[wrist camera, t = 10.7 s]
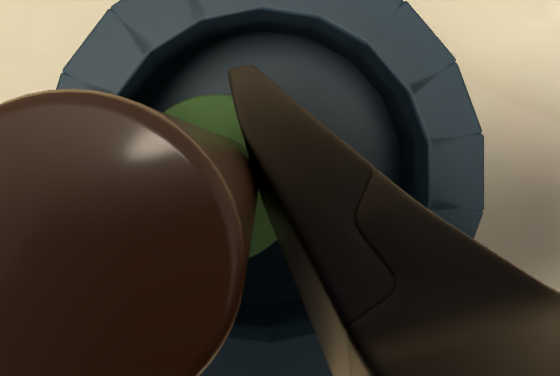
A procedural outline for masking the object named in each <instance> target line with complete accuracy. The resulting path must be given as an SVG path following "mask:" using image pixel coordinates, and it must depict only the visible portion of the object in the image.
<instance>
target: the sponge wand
mask: <svg viewBox="0 0 560 376" xmlns="http://www.w3.org/2000/svg"><path fill="white" fill-rule="evenodd" d="M276 240H277V237H276V235H275V232H274V230H273V227H272V225H271V222H270V220H269V217H268V215H267V212H266V210H265V207H264V204H263V202H262V199H261V196H260V192H259V189H258V184H257V180H256V176H255V173H254V170H253V168H252V165H251V162H250V159H249V155H248V152H247V149H246V145H245V142H244V139H243V135H242V132H241V129H240V125H239V122H238V119H237V115H236V112H235V107H234V102H233V98H232V95H224V94H208V95H201V96H196V97H193V98H190V99H186V100H184V101H182V102H180V103H178V104H175V105H174V106H172V107H171V108H169V109H168V110H166V111H165V112H164V113H163V112H161V111H158V110H156V109H153V108H151V107H148V106H146V105H143V104H141V103H138V102H135V101H132V100H130V99H127V98H124V97H121V96H118V95H113V94H109V93H104V92H99V91H92V90H80V89H62V90H48V91H42V92H37V93H32V94H27V95H24V96H21V97H17V98H14V99H11V100H8V101H5V102H3V103H1V104H0V376H199V375H200V374H201V373H202V372H203V371H204V370H205V369H206V368H207V367H208V365H209V364H210V363H211V362H212V360H213V359H214V358H215V356H216V355H217V353H218V352H219V350H220V349H221V347H222V346H223V344H224V342H225V340H226V339H227V337H228V335H229V333H230V331H231V329H232V327H233V324H234V322H235V319H236V316H237V313H238V310H239V307H240V304H241V299H242V295H243V290H244V285H245V279H246V272H247V265H248V259H249V258H250V257H252V256H254V255H256V254H258V253H260V252H262V251H263V250H265V249H266V248H268V247H269V246H270V245H271V244H273V243H274V242H275V241H276Z"/></svg>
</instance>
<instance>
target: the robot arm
mask: <svg viewBox="0 0 560 376" xmlns="http://www.w3.org/2000/svg"><path fill="white" fill-rule="evenodd" d="M228 79H229V83H230V88H231V93H232V98H233V102H234V107H235V112H236V115H237V119H238V122H239V125H240V129H241V132H242V135H243V139H244V142H245V145H246V149H247V152H248V155H249V159H250V162H251V165H252V168H253V170H254V173H255V176H256V180H257V184H258V189H259V192H260V196H261V199H262V202H263V204H264V207H265V210H266V212H267V215H268V217H269V220H270V222H271V225H272V227H273V230H274V232H275V235H276V237H277V240H278V242H279V245H280V247H281V250H282V252H283V254H284V257H285V259H286V262H287V264H288V267H289V269H290V272H291V274H292V277H293V279H294V282H295V284H296V287H297V289H298V291H299V294H300V296H301V299H302V301H303V304H304V306H305V309H306V311H307V314H308V316H309V319H310V321H311V324H312V326H313V329H314V331H315V333H316V336H317V338H318V341H319V343H320V346H321V348H322V351H323V353H324V356H325V358H326V361H327V363H328V366H329V368H330V370H331V373H332V375H333V376H560V292H558V291H556V290H554V289H552V288H550V287H548V286H546V285H545V284H543V283H541V282H540V281H538V280H536V279H535V278H533V277H531V276H530V275H528V274H527V273H525V272H524V271H522V270H521V269H519V268H518V267H516V266H514V265H513V264H511V263H510V262H508V261H507V260H505V259H504V258H502V257H500V256H499V255H497V254H496V253H494V252H493V251H491V250H490V249H488V248H486V247H485V246H483V245H482V244H480V243H479V242H477V241H476V240H474V239H472V238H471V237H469V236H468V235H466V234H465V233H463V232H462V231H460V230H459V229H457V228H455V227H454V226H452V225H451V224H449V223H448V222H446V221H445V220H444V219H442V218H441V217H439V216H438V215H436V214H435V213H433V212H432V211H430V210H429V209H427V208H426V207H424V206H423V205H421V204H420V203H419V202H418V201H416V200H415V199H414V198H413V197H411V196H410V195H409V194H407V193H406V192H405V191H404V190H402V189H401V188H400V187H398V186H397V185H396V184H395V183H393V182H392V181H391V180H390V179H389V178H388V177H386V176H385V175H384V174H383V173H382V172H381V171H379V170H376V169H375V167H374V166H373V165H372V164H371V163H370V162H368V161H367V160H366V159H365V158H364V157H362V156H361V155H360V154H359V153H358V152H356V151H355V150H354V149H353V148H352V147H350V146H349V145H348V144H347V143H346V142H345V141H343V140H342V139H341V138H340V137H339V136H337V135H336V134H335V133H334V132H333V131H331V130H330V129H329V128H328V127H327V126H325V125H324V124H323V123H322V122H321V121H320V120H318V119H317V118H316V117H315V116H314V115H312V114H311V113H310V112H309V111H308V110H306V109H305V108H304V107H303V106H302V105H301V104H299V103H298V102H297V101H296V100H295V99H293V98H292V97H291V96H290V95H289V94H287V93H286V92H285V91H284V90H283V89H281V88H280V87H279V86H278V85H277V84H276V83H274V82H273V81H272V80H271V79H270V78H268V77H267V76H266V75H265V74H264V73H262V72H261V71H260V70H259V69H258V68H256V67H255V66H254V65H251V64H249V65H245V66H241V67H237V68H234V69H230V70H229V71H228Z"/></svg>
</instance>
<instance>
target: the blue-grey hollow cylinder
mask: <svg viewBox="0 0 560 376" xmlns="http://www.w3.org/2000/svg"><path fill="white" fill-rule="evenodd" d="M455 61H456V59H455V57H454V56H453V55H452V54H451V53H450V52H449V50H448V49H447V48H446V47H445V46H444V44H443V43H442V42H441V41H440V40H439V39H438V37H437V36H436V35H435V34H434V33H433V31H432V30H431V29H430V28H429V27H428V26H427V24H426V23H425V22H424V21H423V20H422V18H421V17H420V16H419V15H418V14H417V13H416V11H415V10H414V9H413V8H412V7H411V5H410V4H409V3H408V2H407V1H405V2H403V0H120V1H119V2H117V3H116V4H114V5H112V6H111V9H108V10H107V12H106V13H105V14H104V16H103V17H102V18H101V20H100V21H99V22H98V24H97V25H96V26H95V28H94V29H93V30H92V32H91V33H90V34H89V35H88V37H87V38H86V39H85V41H84V42H83V43H82V45H81V46H80V47H79V49H78V50H77V51H76V53H75V54H74V55H73V57H72V58H71V59H70V61H69V62H68V63H67V64H66V66H65V67H64V68H63V72H64V73H61V75H60V78H59V82H58V85H57V88H56V90H62V89H80V90H92V91H99V92H104V93H109V94H113V95H118V96H121V97H124V98H127V99H130V100H132V101H135V102H138V103H141V104H143V105H146V106H148V107H151V108H153V109H156V110H158V111H161V112H163V113H164V112H165V111H166V110H168V109H169V108H171V107H172V106H174V105H175V104H178V103H180V102H182V101H184V100H186V99H190V98H193V97H196V96H201V95H208V94H224V95H232V93H231V88H230V83H229V79H228V71H229V70H230V69H234V68H237V67H241V66H245V65H249V64H251V65H254V66H255V67H256V68H258V69H259V70H260V71H261V72H262V73H264V74H265V75H266V76H267V77H268V78H270V79H271V80H272V81H273V82H274V83H276V84H277V85H278V86H279V87H280V88H281V89H283V90H284V91H285V92H286V93H287V94H289V95H290V96H291V97H292V98H293V99H295V100H296V101H297V102H298V103H299V104H301V105H302V106H303V107H304V108H305V109H306V110H308V111H309V112H310V113H311V114H312V115H314V116H315V117H316V118H317V119H318V120H320V121H321V122H322V123H323V124H324V125H325V126H327V127H328V128H329V129H330V130H331V131H333V132H334V133H335V134H336V135H337V136H339V137H340V138H341V139H342V140H343V141H345V142H346V143H347V144H348V145H349V146H350V147H352V148H353V149H354V150H355V151H356V152H358V153H359V154H360V155H361V156H362V157H364V158H365V159H366V160H367V161H368V162H370V163H371V164H372V165H373V166H374V167H375V169H376V170H379V171H381V172H382V173H383V174H384V175H385V176H386V177H388V178H389V179H390V180H391V181H392V182H393V183H395V184H396V185H397V186H398V187H400V188H401V189H402V190H404V191H405V192H406V193H407V194H409V195H410V196H411V197H413V198H414V199H415V200H416V201H418V202H419V203H420V204H421V205H423V206H424V207H426V208H427V209H429V210H430V211H432V212H433V213H435V214H436V215H438V216H439V217H441V218H442V219H444V220H445V221H446V222H448V223H449V224H451V225H452V226H454V227H455V228H457V229H459V230H460V231H462V232H463V233H465V234H466V235H468V236H469V237H471V238H472V239H474V237H475V234H476V231H477V228H478V226H479V223H480V220H481V217H482V214H483V211H482V210H483V209H484V136H483V134H481V133H482V130H481V127H480V124H479V121H478V119H477V116H476V113H475V110H474V108H473V105H472V102H471V99H470V97H469V94H468V91H467V89H466V86H465V83H464V80H463V78H462V75H461V72H460V69H459V67H458V64H457V63H456V62H455ZM199 376H333V375H332V373H331V370H330V368H329V366H328V363H327V361H326V358H325V356H324V353H323V351H322V348H321V346H320V343H319V341H318V338H317V336H316V333H315V331H314V329H313V326H312V324H311V321H310V319H309V316H308V314H307V311H306V309H305V306H304V304H303V301H302V299H301V296H300V294H299V291H298V289H297V287H296V284H295V282H294V279H293V277H292V274H291V272H290V269H289V267H288V264H287V262H286V259H285V257H284V254H283V252H282V250H281V247H280V245H279V242H278V240H276V241H275V242H274V243H273V244H271V245H270V246H269V247H268V248H266V249H265V250H263V251H262V252H260V253H258V254H256V255H254V256H252V257H250V258H249V259H248V265H247V272H246V279H245V285H244V290H243V295H242V299H241V304H240V307H239V310H238V313H237V316H236V319H235V322H234V324H233V327H232V329H231V331H230V333H229V335H228V337H227V339H226V340H225V342H224V344H223V346H222V347H221V349H220V350H219V352H218V353H217V355H216V356H215V358H214V359H213V360H212V362H211V363H210V364H209V365H208V367H207V368H206V369H205V370H204V371H203V372H202V373H201V374H200V375H199Z"/></svg>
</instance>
